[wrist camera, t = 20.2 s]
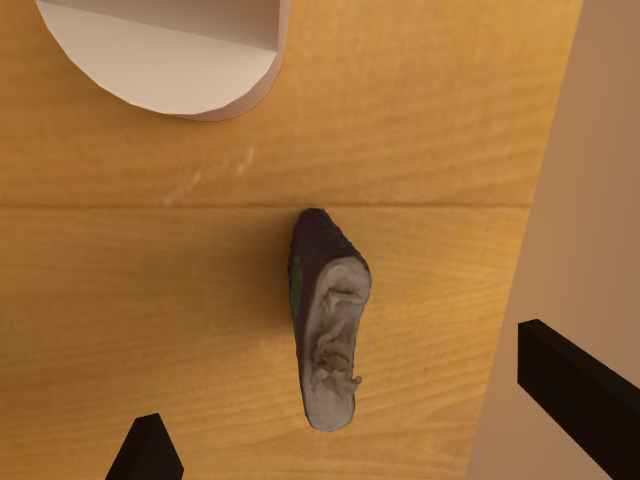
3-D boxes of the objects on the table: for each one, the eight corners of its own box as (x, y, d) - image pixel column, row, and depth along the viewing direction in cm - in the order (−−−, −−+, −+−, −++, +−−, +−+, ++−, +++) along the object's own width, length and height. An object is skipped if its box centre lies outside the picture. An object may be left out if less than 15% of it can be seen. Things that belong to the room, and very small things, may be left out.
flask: (325, 329, 24) (364, 471, 14) (285, 330, 23) (294, 477, 13) (335, 206, 21) (392, 269, 11) (290, 204, 21) (306, 268, 11)
